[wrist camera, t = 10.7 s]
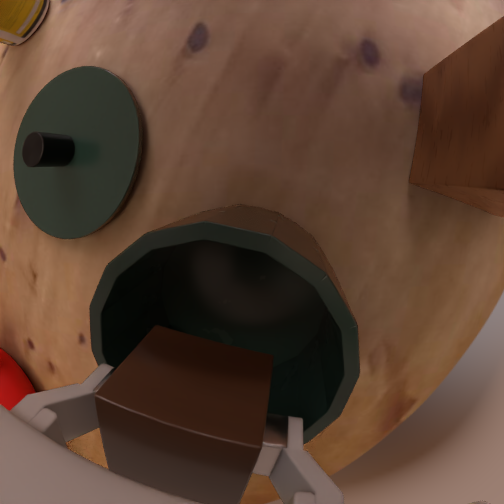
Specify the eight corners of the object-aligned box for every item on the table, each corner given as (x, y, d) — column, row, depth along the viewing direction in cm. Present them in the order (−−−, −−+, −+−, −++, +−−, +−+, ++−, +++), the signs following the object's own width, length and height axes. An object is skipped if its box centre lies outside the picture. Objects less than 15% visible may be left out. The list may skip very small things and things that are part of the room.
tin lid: (38, 76, 19) (3, 67, 14) (165, 67, 18) (135, 42, 13) (17, 221, 22) (-20, 230, 17) (132, 253, 21) (96, 271, 16)
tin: (168, 189, 20) (93, 198, 11) (355, 229, 19) (401, 265, 10) (151, 348, 23) (99, 415, 14) (306, 387, 22) (308, 473, 13)
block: (155, 323, 11) (92, 394, 7) (274, 354, 11) (262, 448, 6) (152, 406, 12) (110, 477, 8) (250, 434, 12) (233, 517, 7)
